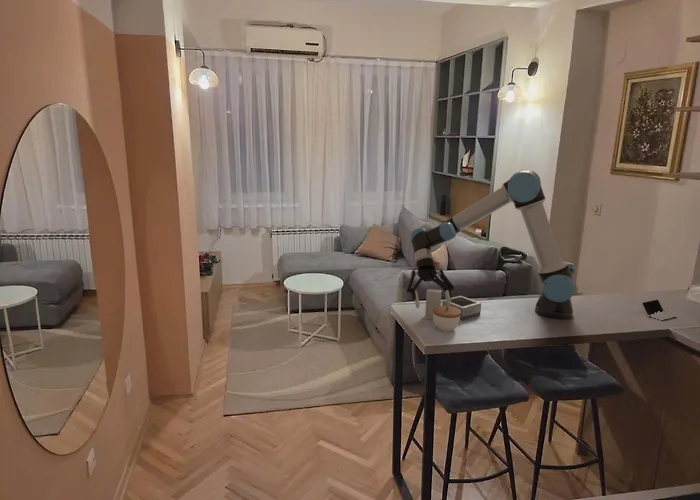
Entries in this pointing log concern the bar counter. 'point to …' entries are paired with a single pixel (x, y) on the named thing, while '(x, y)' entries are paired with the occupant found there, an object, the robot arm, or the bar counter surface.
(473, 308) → the housing
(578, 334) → the bar counter surface
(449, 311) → the lidded jar
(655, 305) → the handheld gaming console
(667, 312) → the bar counter surface
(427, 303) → the skincare box
